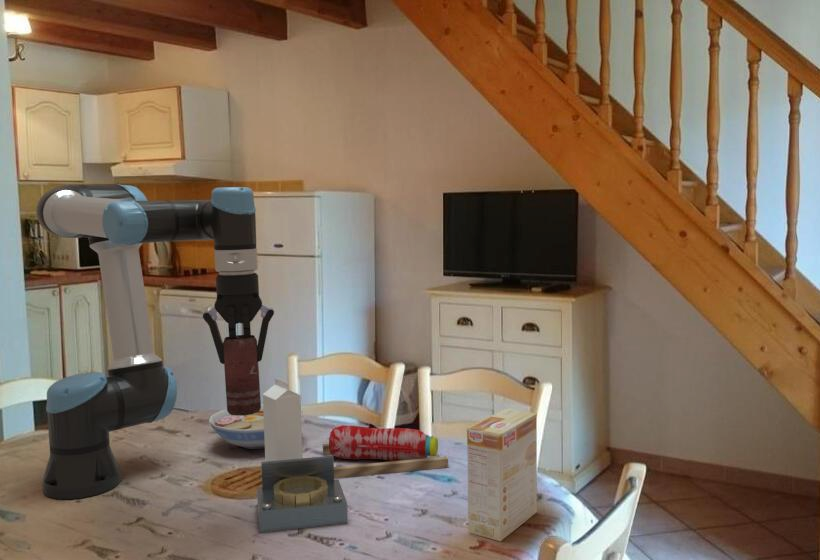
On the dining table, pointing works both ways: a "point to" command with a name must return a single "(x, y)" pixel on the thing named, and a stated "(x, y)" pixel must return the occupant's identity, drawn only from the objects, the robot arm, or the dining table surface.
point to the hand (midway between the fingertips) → (243, 400)
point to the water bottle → (381, 443)
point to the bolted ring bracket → (300, 495)
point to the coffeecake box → (502, 473)
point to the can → (241, 375)
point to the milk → (282, 423)
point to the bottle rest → (387, 466)
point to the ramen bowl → (240, 428)
